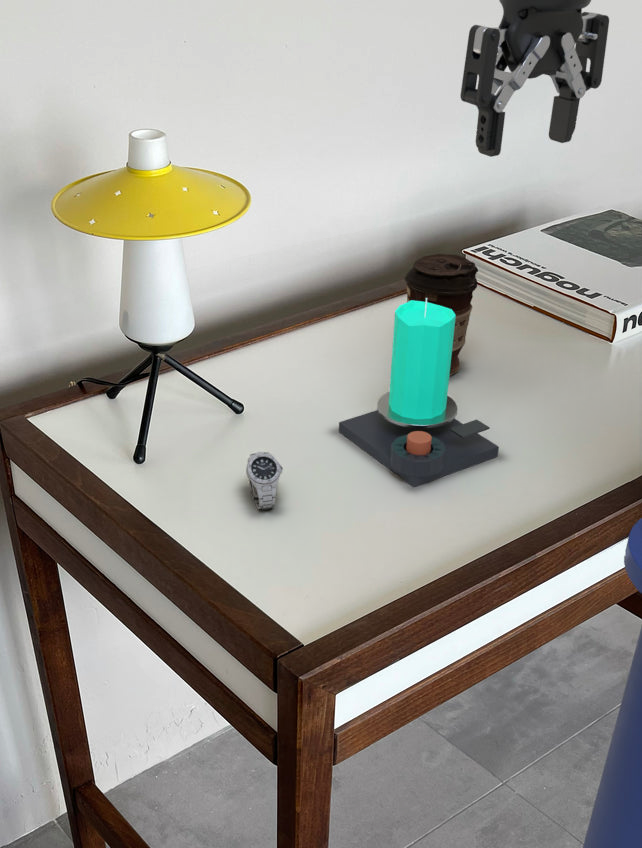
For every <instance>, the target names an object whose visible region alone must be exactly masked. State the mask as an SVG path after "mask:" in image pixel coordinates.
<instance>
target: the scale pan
mask: <svg viewBox="0 0 642 848" xmlns="http://www.w3.org/2000/svg"><path fill="white" fill-rule="evenodd" d="M389 392H390V390H389V391H388V392H385V393H384V394H382V395H381V396H380V397H379V398H378V400H377V403H376V410H378V412H379V414H380V415H381V416H382V417H383V418H384V419H386V420H387V421H389V422H391V423H393V424H396V425H399V426H403V427H408V428H419V429H424V428H434V427H439V426H442V425H445V424H447V423H449V422H451V421H452V420H453V419H456V417H457V415H458V410H459V409H458V404H457V403H456V401H455V400H454V399H453V398H452V397H451V396H449V395H447V403H446V408H445V410H444V412H443V413H442V414H441V415H439V416H436V417H434V418H431V419H412V418H407V417H402V416H400V415H398V414H397V413H395V412H393V411H392V410H391V408H390V406H389ZM490 429H491V428H490V426H488V425H487V424H485V423H483V422H482V421H481V420H479V419H478V418H477V419H474V420H470V421H468V422H465V423H462V425H459V426H456V427H453V428H450V431H452V432H453V433H455V434H456V435H458V436H459V437H461V438H465V437H468V436H471V435H474V434H477V433H478V434H481V433H482V432H485V431H487V430H490Z"/></svg>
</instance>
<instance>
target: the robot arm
mask: <svg viewBox="0 0 642 848" xmlns="http://www.w3.org/2000/svg"><path fill="white" fill-rule="evenodd" d="M498 1H499V3H500V4H501V7H502V11H503V12H502V13H503V14H502V16H501V17H502V18H501V20H500V23H499V24H498V27H489V26H485V25H479V24H474V25H472V26H471V27H470V29H469V32H468V37H467V46H466V52H465V58H464V65H463V66H464V68H463V74H462V82H461V88H460V100H461V101H462V102H464V103H467V104H470V105H473V106H475V107H476V108H477V110H478V111H477V112H478V115H477V124H476V134H475V146H476V148H477V150H478V153H479V154H480V155H485V156H487V157H492V158H493V157H496V156H497V157H498V156H499V155H500V154H501V151H502V145H503V144H502V143H503V136H504V135H503V134H504V127H505V119H506V118H505V117H506V111H504V109H505V108H506V106H507V105H508V103H509V102H510V100H511V98H512V97H513V95H514V93H516V92H517V91H519V90H520V89H521V88H522V87H523V86H524V85H525V83H526V81H527V79H529V80H531V79H536V78H538V77H541V76H542V75H545V76H549V77H550V79H551V81H552V83H553V85H554V88H555V91H556V93H557V94H558V95H554V96H553V102H552V107H551V115H550V122H549V127H548V128H549V129H548V139H550V140H551V141H554V142H557V143H560V144H564V143H565V144H566V143H569V142H571V140H572V138H573V135H574V132H575V130H576V126H577V117H578V113H579V107H580V100H581V99H582V98H583V97H584V96H585V94H586V92H587V91H589V90H591V89H594V90H595V89H598V88H599V87H600V86H601V84H602V80H603V73H604V65H605V57H606V49H607V43H608V35H609V34H608V33H609V26H610V17H609V16H608V15H606V14H602V13H597V12H592V11H591V12H588V11H583V9H585V8H587V7H588V6H589V5H590V4H591V2H592V0H498ZM588 59H589V61H590V62H589V70H588V71H587V66H588ZM507 68H508V70H509V71H506V69H507ZM477 82H478V83H477Z"/></svg>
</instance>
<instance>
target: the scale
mask: <svg viewBox="0 0 642 848" xmlns="http://www.w3.org/2000/svg"><path fill="white" fill-rule="evenodd" d="M462 424H463V423H462V422H461V421H459V420H458V419H456V418H454V419H453V420H452V421H451V422H449V423H447V424H445V425H442V426H439V427H434V428H424V429H419V428H408V427H403V426H399V425H396V424H393V423H391V422H389V421H387V420H386V419H384V418H383V417H382V416H381V415H380V414H379V412H378V410H377V409H376V410H373V411H370V412H366V413H363V414H360V415H357V416H354V417H351V418H348V419H345V420H342V421H339V422H338V432H339V433H340V434H341V435H343V436H344V437H345V438H347V439H348V440H349V441H351V442H352V443H354V444H355V445H356V446H358V448H360V449H361V450H363V451H365V452H366V453H367V454H368V455H370V456H371V457H372V458H373V459H375V460H376V461H377V462H379V463H380V464H382V465H383V466H385V467H386V468H387V469H389V470H390V471H392V472H393V473H394V474H395V475H397V476H398V477H400V478H401V479H402V480H404V482H406V483H408V484H409V485H410V486H411V487H413V488H415V487H418V486H421V485H423V484H426V483H429V482H431V481H434V480H437V479H441V478H443V477H445V476H448V475H451V474H453V473H456V472H460V471H462V470H464V469H467V468H470V467H473V466H476V465H478V464H481V463H483V462H486V461H489V460H492V459H495V458H497V457H499V449H500V446H499V445H497V444H495V443H494V442H492V441H491V440H489V439H488V438H486V437H484V436H482V435H481V433H477V434H474V435H471V436H468V437H465V438H461V437H459V436H458V435H456V434H455V433H453V432H452V431H450V428H453V427H456V426H459V425H462ZM414 431H423V432H426V433H428V434H430V435H431V437H432V440H431V451H430V453H429V454H426V455H414V454H410V453H408V452H407V450H406V445H407V436H408V434H409V433H411V432H414Z"/></svg>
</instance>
